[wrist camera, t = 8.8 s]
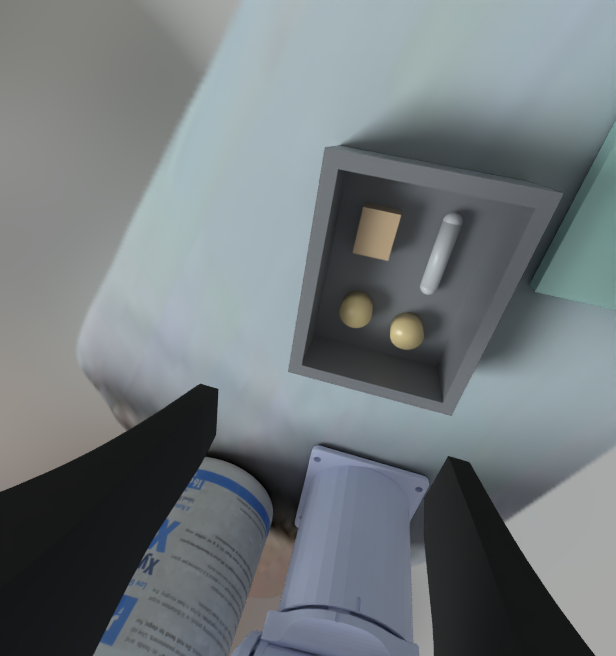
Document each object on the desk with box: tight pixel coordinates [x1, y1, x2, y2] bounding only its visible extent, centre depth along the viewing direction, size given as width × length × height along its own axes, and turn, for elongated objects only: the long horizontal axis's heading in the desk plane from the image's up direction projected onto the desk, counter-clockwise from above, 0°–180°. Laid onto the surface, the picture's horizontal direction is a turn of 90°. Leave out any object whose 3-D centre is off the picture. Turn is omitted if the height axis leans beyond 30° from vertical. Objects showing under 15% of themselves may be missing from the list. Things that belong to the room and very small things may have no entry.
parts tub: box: [288, 145, 564, 416], centre depth 16 cm, size 10×8×4 cm
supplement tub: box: [93, 457, 273, 656], centre depth 23 cm, size 10×10×15 cm
